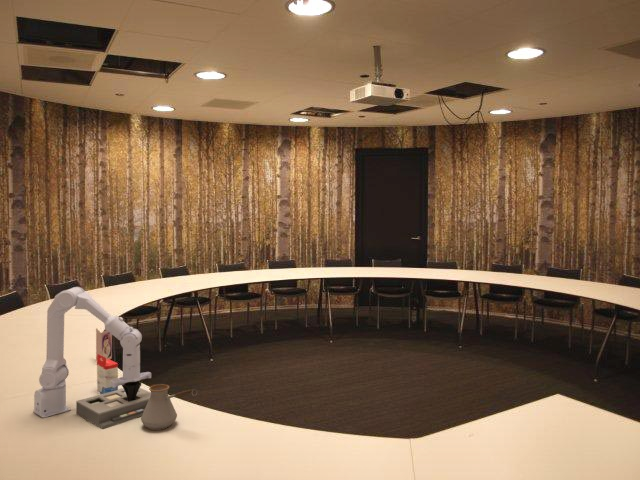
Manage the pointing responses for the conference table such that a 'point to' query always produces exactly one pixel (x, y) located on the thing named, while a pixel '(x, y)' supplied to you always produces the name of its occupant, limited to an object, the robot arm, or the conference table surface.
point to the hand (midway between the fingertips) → (131, 402)
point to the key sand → (113, 397)
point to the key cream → (113, 404)
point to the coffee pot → (160, 408)
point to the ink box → (106, 374)
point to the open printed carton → (104, 344)
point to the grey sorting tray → (112, 408)
